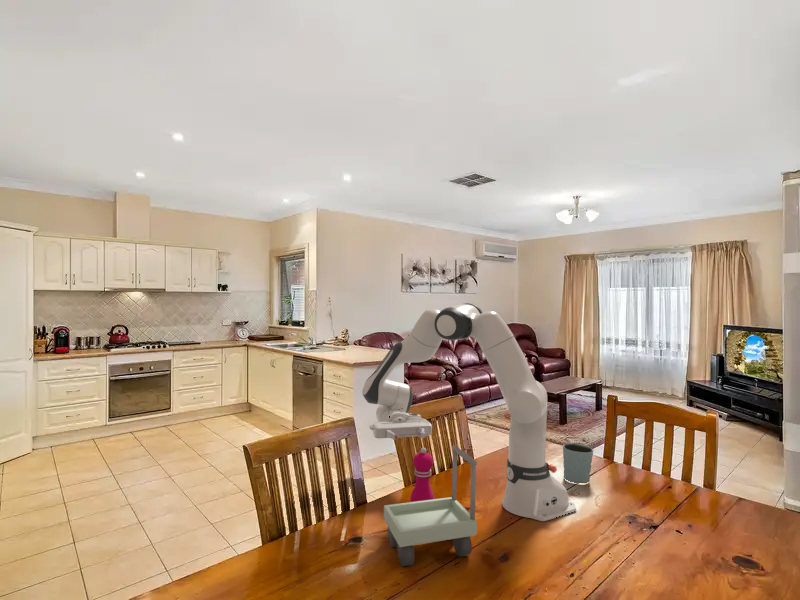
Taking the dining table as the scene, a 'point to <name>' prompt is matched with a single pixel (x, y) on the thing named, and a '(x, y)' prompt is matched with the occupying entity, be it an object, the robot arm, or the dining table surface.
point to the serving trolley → (433, 519)
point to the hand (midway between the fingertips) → (409, 436)
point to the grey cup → (577, 462)
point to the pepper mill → (422, 477)
